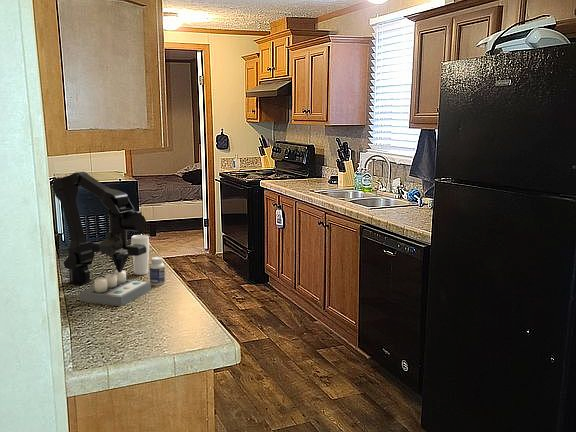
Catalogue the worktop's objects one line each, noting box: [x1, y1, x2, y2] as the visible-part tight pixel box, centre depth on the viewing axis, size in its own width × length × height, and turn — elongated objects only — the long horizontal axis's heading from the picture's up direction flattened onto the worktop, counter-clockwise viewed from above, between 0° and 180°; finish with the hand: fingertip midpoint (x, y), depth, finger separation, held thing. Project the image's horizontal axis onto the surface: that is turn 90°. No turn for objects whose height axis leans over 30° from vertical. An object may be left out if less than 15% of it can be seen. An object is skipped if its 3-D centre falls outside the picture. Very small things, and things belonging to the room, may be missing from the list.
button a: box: [94, 277, 108, 292], centre depth 181 cm, size 4×4×4 cm
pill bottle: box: [149, 256, 166, 286], centre depth 200 cm, size 5×5×10 cm
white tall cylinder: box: [130, 234, 150, 276], centre depth 212 cm, size 7×7×15 cm
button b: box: [104, 273, 117, 288], centre depth 186 cm, size 4×4×4 cm
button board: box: [79, 279, 152, 307], centre depth 186 cm, size 16×18×3 cm
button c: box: [113, 270, 127, 284], centre depth 191 cm, size 4×4×4 cm
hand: (119, 272), depth 191 cm, fingers closed, pressing on button c
